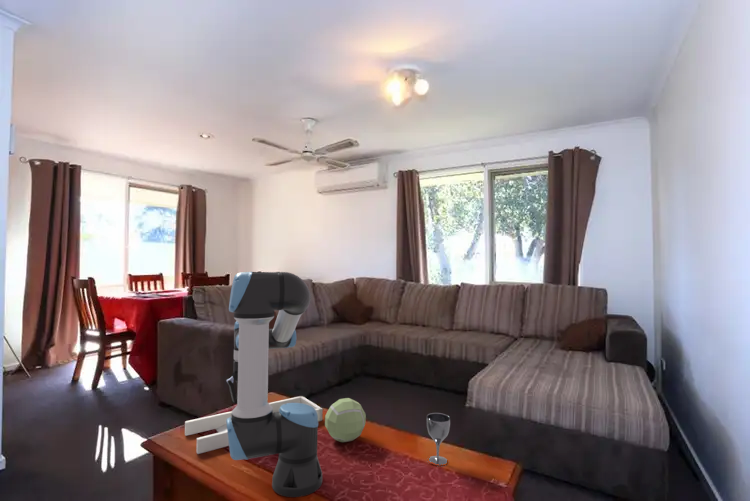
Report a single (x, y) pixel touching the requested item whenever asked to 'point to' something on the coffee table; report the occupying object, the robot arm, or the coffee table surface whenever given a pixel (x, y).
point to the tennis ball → (345, 420)
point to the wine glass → (438, 433)
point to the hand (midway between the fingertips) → (242, 419)
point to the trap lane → (221, 426)
